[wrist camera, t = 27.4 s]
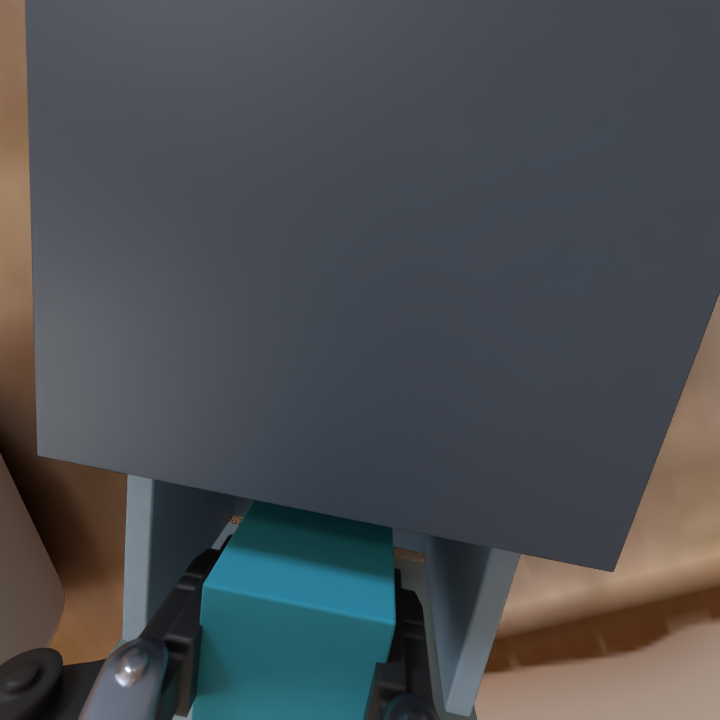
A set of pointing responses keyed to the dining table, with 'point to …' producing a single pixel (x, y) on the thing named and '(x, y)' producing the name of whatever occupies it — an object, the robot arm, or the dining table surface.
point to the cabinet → (377, 252)
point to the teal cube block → (295, 617)
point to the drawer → (429, 580)
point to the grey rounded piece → (24, 578)
